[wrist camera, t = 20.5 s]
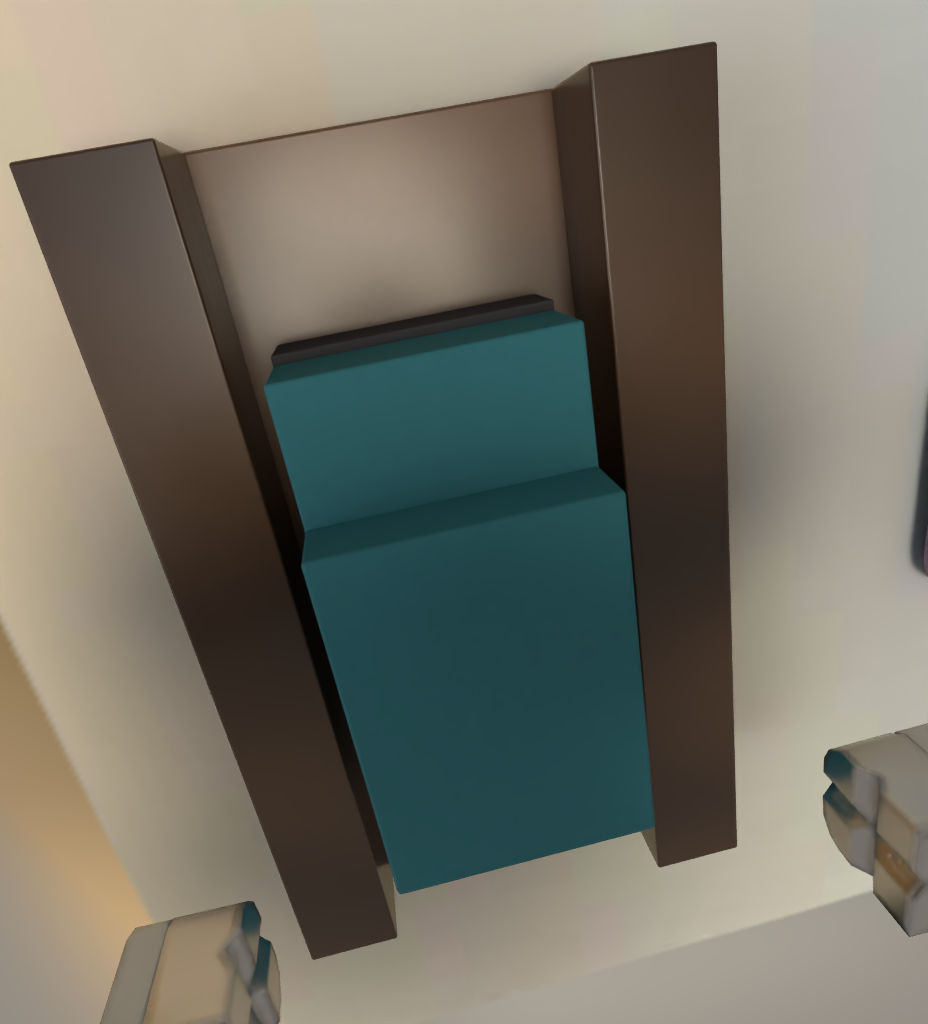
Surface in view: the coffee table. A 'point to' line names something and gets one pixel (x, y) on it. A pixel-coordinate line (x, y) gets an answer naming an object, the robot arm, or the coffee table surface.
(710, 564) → the brown rail tray
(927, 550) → the smartphone
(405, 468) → the teal stepped block
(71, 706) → the coffee table surface
